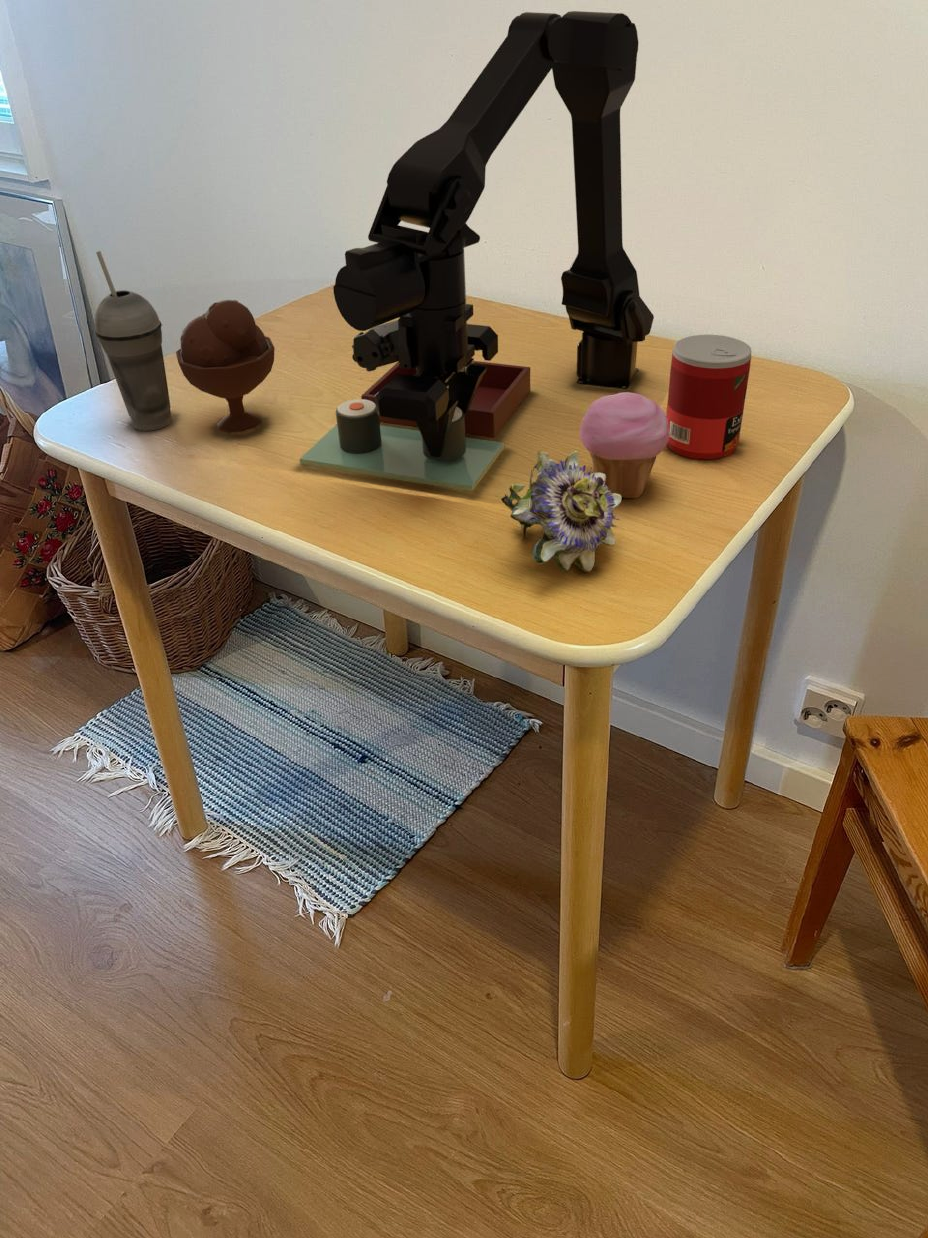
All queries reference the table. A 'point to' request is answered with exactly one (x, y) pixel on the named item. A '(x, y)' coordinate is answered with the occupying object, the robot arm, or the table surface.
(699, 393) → the canned food
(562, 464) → the passion flower
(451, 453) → the cylinder
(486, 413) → the sushi box
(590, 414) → the cupcake
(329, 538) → the table surface
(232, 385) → the ice cream bowl
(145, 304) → the beverage cup
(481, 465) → the plate
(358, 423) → the cylinder
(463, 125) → the robot arm
